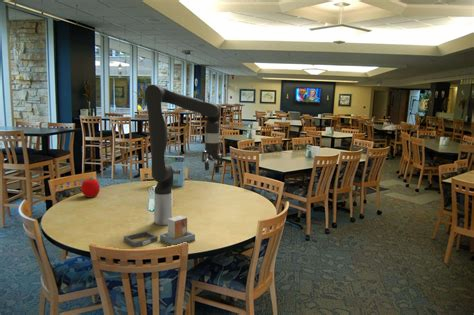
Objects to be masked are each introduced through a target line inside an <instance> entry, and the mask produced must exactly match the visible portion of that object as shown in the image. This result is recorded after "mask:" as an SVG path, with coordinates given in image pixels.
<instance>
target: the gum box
mask: <svg viewBox="0 0 474 315" xmlns="http://www.w3.org/2000/svg"><path fill="white" fill-rule="evenodd" d="M164 159H165V163H168V164H170V165H171V166H172V169H173V187H181V186H183V187H184V186H186V184H185V183H186V182H185V181H186V179H185V178H186V176H185V175H186V172H185V170H186V169H185V168H186V156H178V155H177V156H176V155H164Z"/></svg>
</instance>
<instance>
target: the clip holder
mask: <svg viewBox="0 0 474 315" xmlns="http://www.w3.org/2000/svg"><path fill="white" fill-rule="evenodd" d="M142 237H148V238H144V239H142V240H141V239H140V240H137V241H135V240H134V239H138V238H142ZM123 241H124V242H125V243H127V244H128V245H130V246H131V247H133V248H137V247H140V246H145V245H148V244H151V243H154V242H158V236H157V235H155V234H154V233H152V232H150V231H149V230H144V231H141V232H136V233H133V234H132V233H131V234H128V235H126V236H123Z"/></svg>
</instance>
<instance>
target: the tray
mask: <svg viewBox="0 0 474 315" xmlns="http://www.w3.org/2000/svg"><path fill="white" fill-rule="evenodd" d="M159 240H160V241H161V242H163V243H165V244H166V245H168V246H170V247H171V245H177V244H180V243H183V242H188V243H190V242H193V241H194V242H195V241H196V234H195V233H193V232H191V231H189V230H187V236H185V237H181V238H178V239H175V240H172V239H171V238H169V237H168V231H167V232H163V233H160V234H159Z"/></svg>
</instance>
